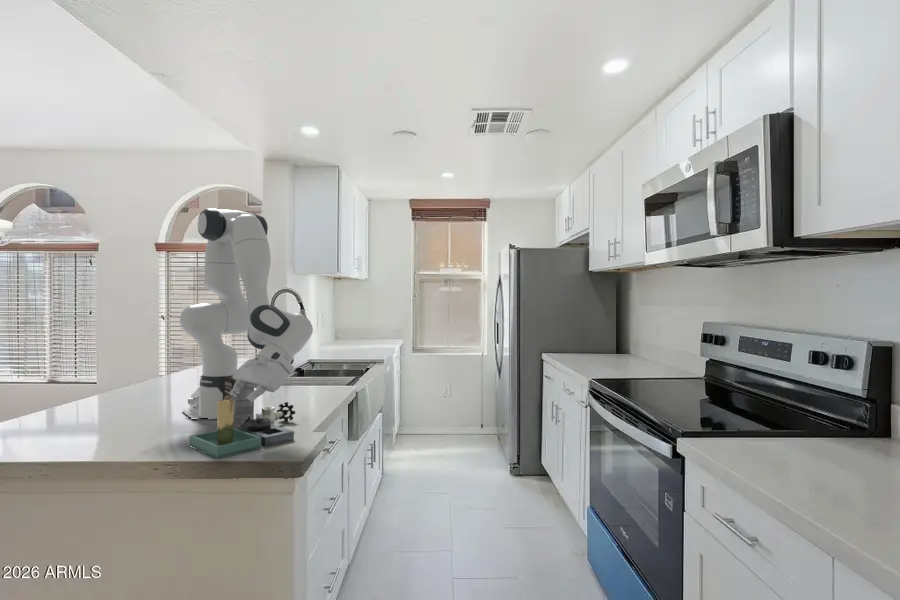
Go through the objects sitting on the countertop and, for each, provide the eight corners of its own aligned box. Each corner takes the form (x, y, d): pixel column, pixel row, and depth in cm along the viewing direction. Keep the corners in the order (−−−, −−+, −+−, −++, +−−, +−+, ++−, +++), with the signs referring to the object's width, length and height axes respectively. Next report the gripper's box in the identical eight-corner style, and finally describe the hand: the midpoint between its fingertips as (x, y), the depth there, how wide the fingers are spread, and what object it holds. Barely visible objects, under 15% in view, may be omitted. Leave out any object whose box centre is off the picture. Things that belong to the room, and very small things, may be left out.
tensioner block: (237, 436, 145) (237, 414, 145) (265, 430, 152) (265, 409, 152) (265, 446, 136) (265, 423, 136) (293, 439, 143) (294, 417, 143)
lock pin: (214, 444, 134) (214, 400, 134) (228, 441, 138) (229, 398, 137) (221, 447, 132) (222, 402, 132) (235, 444, 135) (236, 400, 135)
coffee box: (221, 428, 155) (221, 376, 155) (241, 424, 160) (242, 374, 160) (233, 433, 149) (234, 380, 149) (254, 429, 153) (255, 377, 153)
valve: (272, 431, 152) (295, 422, 164) (273, 410, 152) (295, 402, 164) (254, 429, 154) (278, 420, 165) (255, 408, 154) (278, 401, 166)
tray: (189, 446, 135) (189, 435, 135) (231, 437, 144) (232, 427, 144) (217, 458, 125) (217, 447, 125) (261, 448, 134) (261, 437, 134)
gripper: (247, 350, 151) (215, 386, 143) (285, 356, 138) (251, 396, 130) (261, 363, 154) (229, 399, 147) (298, 370, 141) (266, 410, 134)
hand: (240, 397), depth 138 cm, fingers open, 8 cm apart
